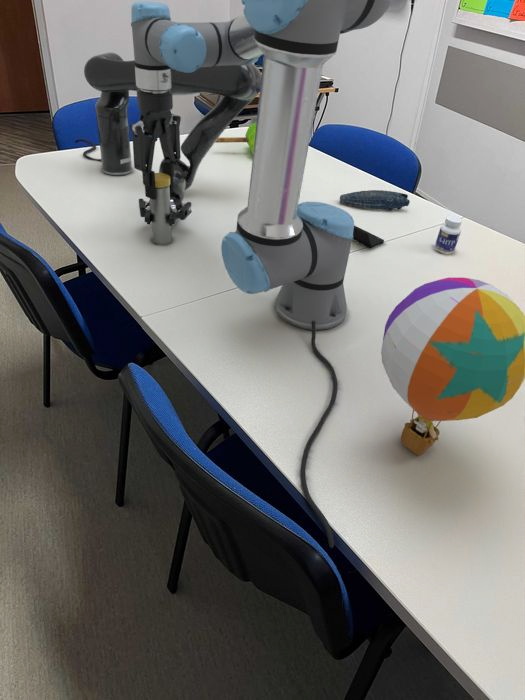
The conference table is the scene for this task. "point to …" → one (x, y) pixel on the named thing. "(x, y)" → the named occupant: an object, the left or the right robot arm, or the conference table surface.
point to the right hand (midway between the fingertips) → (159, 194)
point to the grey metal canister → (161, 216)
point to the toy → (453, 354)
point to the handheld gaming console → (366, 238)
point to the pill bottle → (448, 235)
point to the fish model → (376, 199)
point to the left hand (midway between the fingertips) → (159, 221)
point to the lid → (162, 180)
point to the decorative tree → (249, 137)
